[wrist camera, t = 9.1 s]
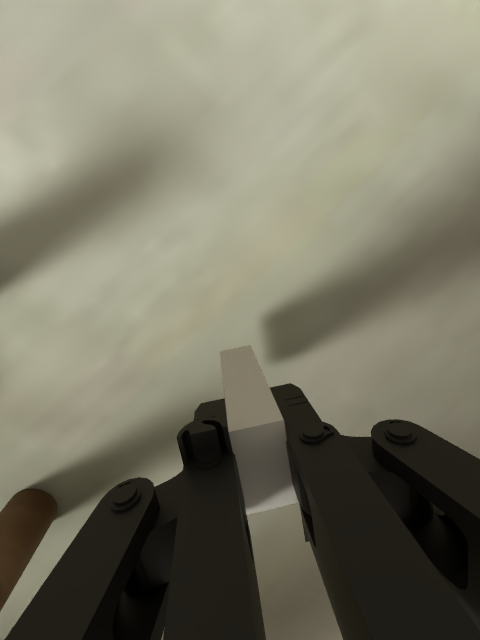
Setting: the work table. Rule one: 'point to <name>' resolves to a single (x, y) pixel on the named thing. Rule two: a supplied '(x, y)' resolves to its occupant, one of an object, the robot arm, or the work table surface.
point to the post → (22, 534)
